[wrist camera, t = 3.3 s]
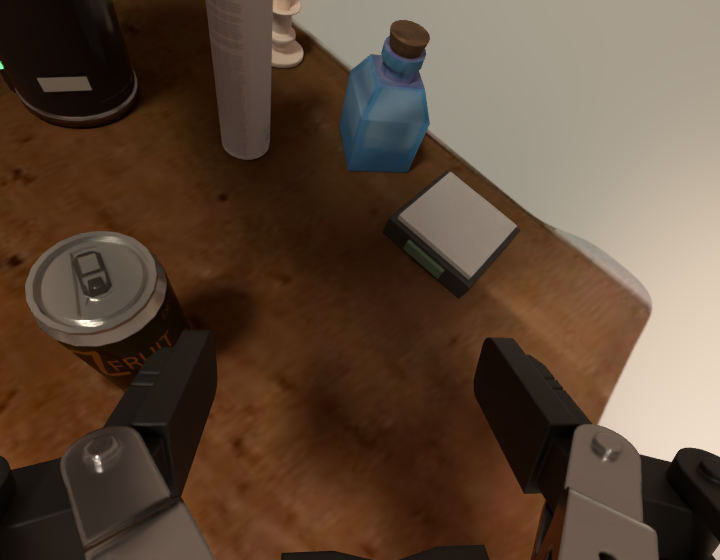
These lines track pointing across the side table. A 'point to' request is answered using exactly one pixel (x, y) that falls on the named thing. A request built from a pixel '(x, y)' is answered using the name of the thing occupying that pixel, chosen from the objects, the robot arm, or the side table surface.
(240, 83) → the bottle
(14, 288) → the side table surface
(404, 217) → the kitchen scale
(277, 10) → the candle
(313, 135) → the side table surface
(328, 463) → the side table surface
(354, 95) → the perfume bottle
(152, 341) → the beer can
